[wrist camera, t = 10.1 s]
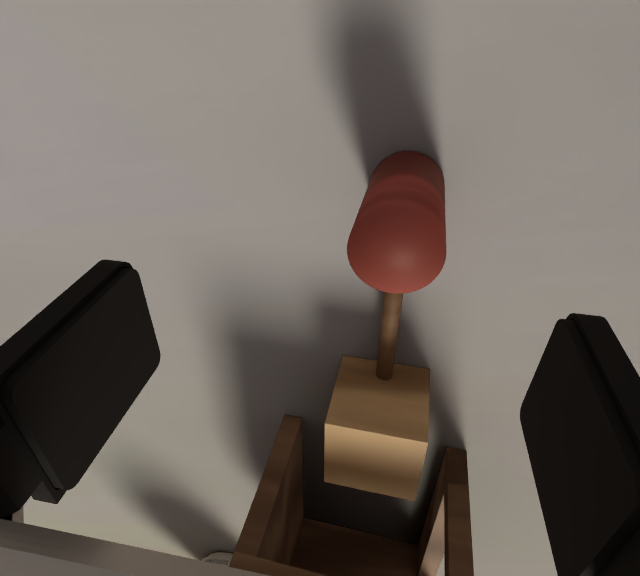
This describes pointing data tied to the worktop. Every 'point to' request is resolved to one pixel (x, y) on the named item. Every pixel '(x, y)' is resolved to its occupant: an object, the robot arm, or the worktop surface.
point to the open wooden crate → (343, 543)
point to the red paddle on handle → (388, 332)
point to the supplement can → (219, 558)
